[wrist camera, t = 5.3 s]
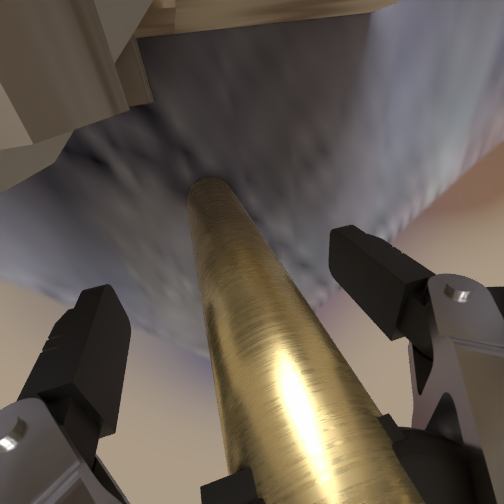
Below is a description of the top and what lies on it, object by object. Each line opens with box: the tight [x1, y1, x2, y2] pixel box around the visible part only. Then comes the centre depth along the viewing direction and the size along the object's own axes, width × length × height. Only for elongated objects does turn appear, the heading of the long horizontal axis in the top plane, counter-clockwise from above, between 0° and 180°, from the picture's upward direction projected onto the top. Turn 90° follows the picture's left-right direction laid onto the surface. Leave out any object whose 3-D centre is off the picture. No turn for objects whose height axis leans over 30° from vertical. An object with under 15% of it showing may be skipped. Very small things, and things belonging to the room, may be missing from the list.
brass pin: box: [186, 177, 426, 504], centre depth 9 cm, size 3×3×17 cm
